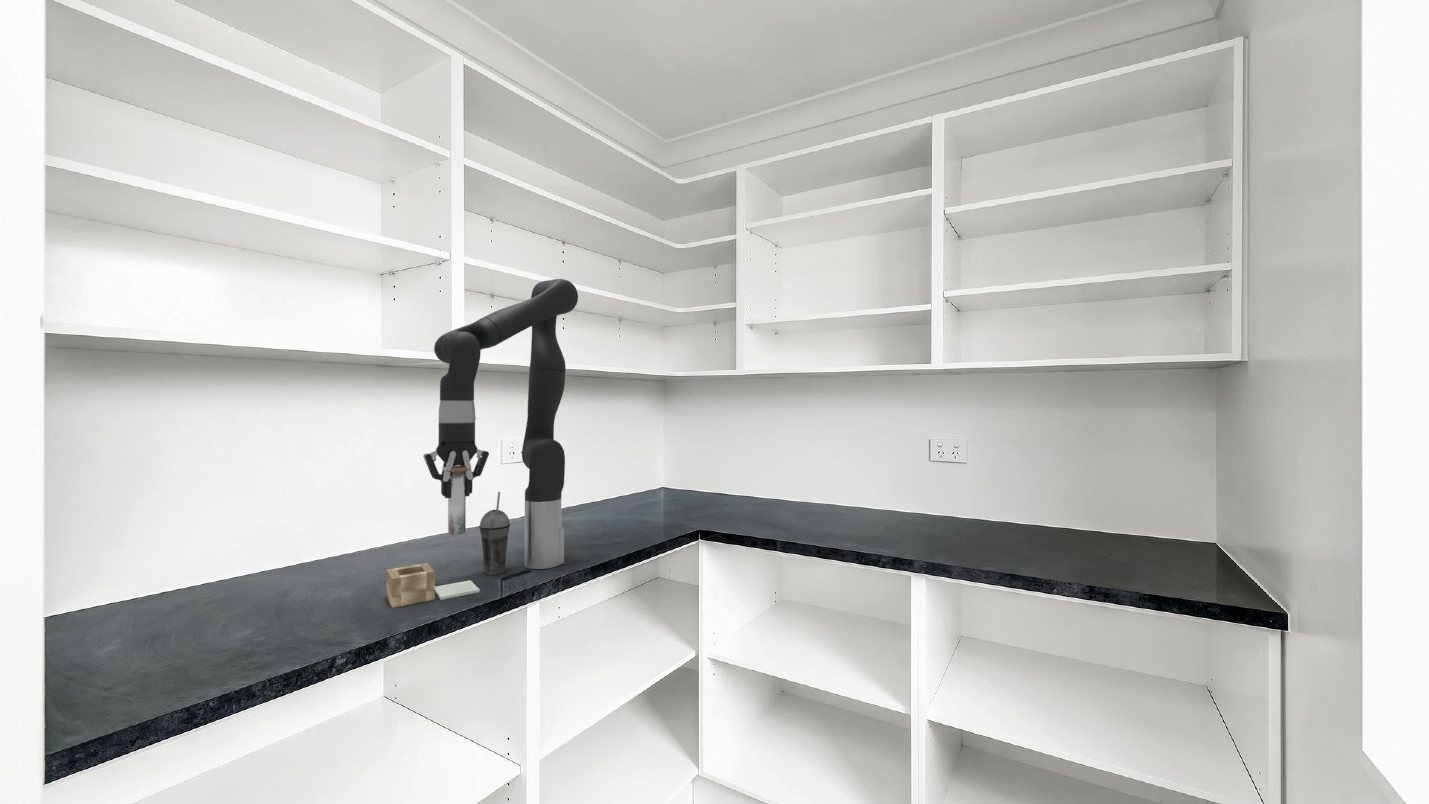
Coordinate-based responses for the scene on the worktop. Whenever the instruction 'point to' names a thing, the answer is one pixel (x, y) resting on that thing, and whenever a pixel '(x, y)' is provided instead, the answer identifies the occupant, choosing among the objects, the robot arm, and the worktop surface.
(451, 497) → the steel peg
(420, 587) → the oak eye block
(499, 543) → the beverage cup
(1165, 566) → the worktop surface
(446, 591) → the sage mat
